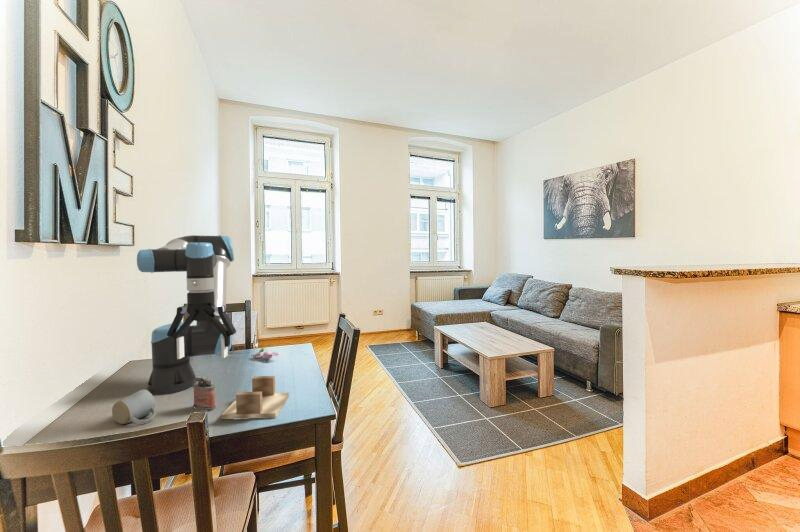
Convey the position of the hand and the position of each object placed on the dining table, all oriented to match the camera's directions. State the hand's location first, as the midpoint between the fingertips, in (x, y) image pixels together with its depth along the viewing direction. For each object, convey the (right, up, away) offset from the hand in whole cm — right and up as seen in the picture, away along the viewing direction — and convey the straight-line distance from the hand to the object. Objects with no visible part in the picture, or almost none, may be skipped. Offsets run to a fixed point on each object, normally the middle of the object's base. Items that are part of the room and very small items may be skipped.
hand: (202, 357), depth 110 cm
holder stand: (+17, -17, +1) cm, 24 cm away
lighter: (0, -17, +1) cm, 17 cm away
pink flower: (+1, -15, +50) cm, 52 cm away
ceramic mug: (-16, -17, -6) cm, 24 cm away
